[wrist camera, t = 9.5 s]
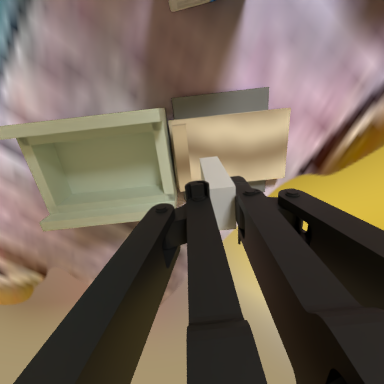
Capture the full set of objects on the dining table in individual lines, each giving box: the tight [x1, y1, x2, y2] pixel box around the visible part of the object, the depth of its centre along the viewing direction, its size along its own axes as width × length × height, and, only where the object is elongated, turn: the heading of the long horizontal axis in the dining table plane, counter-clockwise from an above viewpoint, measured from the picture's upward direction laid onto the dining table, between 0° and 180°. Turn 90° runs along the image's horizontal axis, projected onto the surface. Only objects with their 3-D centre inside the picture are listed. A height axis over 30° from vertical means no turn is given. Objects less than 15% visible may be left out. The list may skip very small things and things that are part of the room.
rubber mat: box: [172, 87, 269, 200], centre depth 27 cm, size 14×12×1 cm
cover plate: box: [168, 108, 291, 192], centre depth 25 cm, size 9×15×4 cm, turn 96°
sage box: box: [0, 108, 178, 231], centre depth 24 cm, size 12×16×7 cm
